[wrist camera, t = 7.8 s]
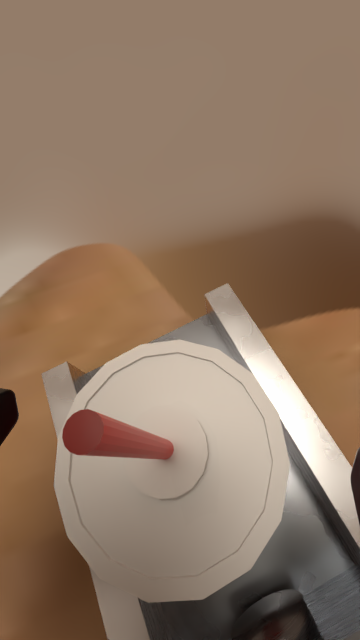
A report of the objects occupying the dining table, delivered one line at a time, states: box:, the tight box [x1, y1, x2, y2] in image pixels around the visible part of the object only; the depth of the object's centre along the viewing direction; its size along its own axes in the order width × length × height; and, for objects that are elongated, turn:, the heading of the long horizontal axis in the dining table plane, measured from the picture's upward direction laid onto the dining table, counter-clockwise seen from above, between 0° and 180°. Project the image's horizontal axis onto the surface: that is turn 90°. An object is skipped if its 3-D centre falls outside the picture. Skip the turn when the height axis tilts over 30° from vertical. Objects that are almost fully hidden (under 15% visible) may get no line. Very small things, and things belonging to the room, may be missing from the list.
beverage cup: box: [54, 339, 290, 603], centre depth 10 cm, size 6×6×14 cm
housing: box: [42, 283, 360, 640], centre depth 14 cm, size 18×13×5 cm
